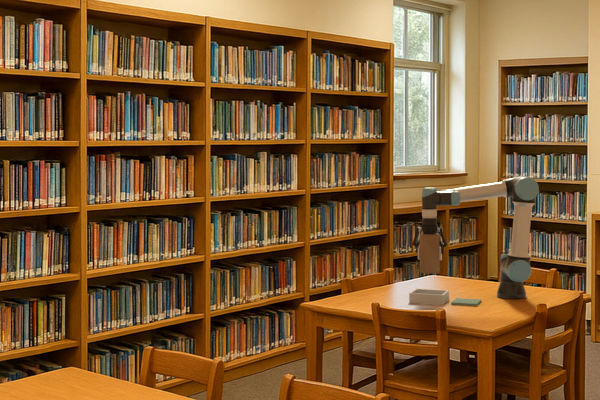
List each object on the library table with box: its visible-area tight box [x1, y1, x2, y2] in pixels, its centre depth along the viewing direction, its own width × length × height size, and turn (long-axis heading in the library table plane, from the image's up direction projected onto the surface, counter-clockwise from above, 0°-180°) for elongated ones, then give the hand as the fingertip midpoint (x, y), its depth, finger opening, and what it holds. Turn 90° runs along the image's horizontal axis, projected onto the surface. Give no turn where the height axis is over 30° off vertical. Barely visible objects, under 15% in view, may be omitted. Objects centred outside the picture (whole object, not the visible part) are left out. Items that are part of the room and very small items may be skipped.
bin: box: [408, 288, 450, 306], centre depth 432 cm, size 18×15×5 cm
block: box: [418, 232, 441, 274], centre depth 431 cm, size 10×10×20 cm
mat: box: [450, 297, 482, 307], centre depth 426 cm, size 13×13×1 cm
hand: (429, 259), depth 431 cm, fingers closed on block, 11 cm apart
